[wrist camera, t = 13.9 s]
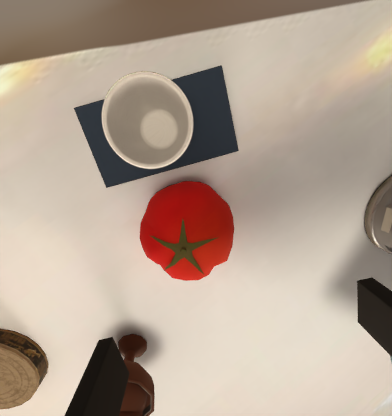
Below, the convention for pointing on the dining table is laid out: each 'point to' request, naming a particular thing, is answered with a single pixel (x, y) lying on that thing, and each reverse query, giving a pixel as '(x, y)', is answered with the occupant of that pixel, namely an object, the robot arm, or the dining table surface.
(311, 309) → the dining table surface
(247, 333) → the dining table surface
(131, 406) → the ice cream bowl
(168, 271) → the tomato
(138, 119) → the dixie cup
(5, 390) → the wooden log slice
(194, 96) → the placemat
